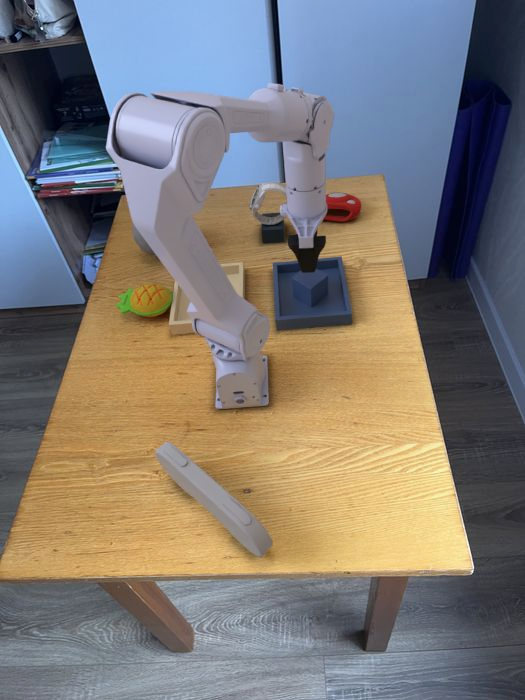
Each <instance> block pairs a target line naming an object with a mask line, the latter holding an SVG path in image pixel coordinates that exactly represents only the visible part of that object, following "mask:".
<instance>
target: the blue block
mask: <svg viewBox="0 0 525 700" xmlns="http://www.w3.org/2000/svg"><path fill="white" fill-rule="evenodd" d="M292 289H293V297H295V298H297V299H298V300H300V301H302V302H303V303H305V304H307V305H308V306H310V307H313V306H314V305H315V304H316V303H318V302H319V301H320V300H321V299H323V298H324V297H325V296H326V295H327V294H328V275H327V274H325V273H323V272H322V271H320V270H318V269H316V270H315V272H312V273H302V271H300V272H298V273H297V274H296V275H295V276H293V277H292Z"/></svg>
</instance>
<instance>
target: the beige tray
mask: <svg viewBox="0 0 525 700" xmlns="http://www.w3.org/2000/svg"><path fill="white" fill-rule="evenodd" d="M220 265H221V267H222V269H223V270H224V272H225V274H226V276H227V277H228V279H229V281H230V283H231V284H232V286H233V288H234V290H235V291H236V293H237V294H238V295H239V296H241V297H242V298H244V299H245V300H246V269H245V263H244V261H239V262H238V261H237V262H227V263H226V262H225V263H220ZM172 295H173V298H172V302H171V305H170V312H169V320H168V327H169V330H170V332H171V335H173V336H174V335H186V334H196V333H195V332H194V330H193V328H192V321H191V317H190V315H189V314H188V313H187V309H188V307H189V305H190V302H191V301H190V300H189V299H188V297H187V296H186V295H185V293H184V292H183V291H182V289H181V288H180V287H179V285H178V284H177V282H176V281H175V280H174V283H173V291H172Z"/></svg>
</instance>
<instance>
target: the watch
mask: <svg viewBox="0 0 525 700" xmlns="http://www.w3.org/2000/svg"><path fill="white" fill-rule="evenodd" d="M269 191H270V192H272V191H273V192H274V191H275V192H278V193H281V194H283V195H284V196H285V197H286V198H287V194H286V186H285V185H283V184H281V183H279V182H274V181H270V182H269V181H268V182H263V183H262V184H258V185H257V186H256V187H255V189H254V192H253V194H252V195H251V200H250V203H249V211H251V216H252V217H253V218H254V220H256V222H258V223H260V224H261V227H260V232H261V240H262V244H272V243H273V244H275V243H276V244H277V243H285V238H286V237H285V234H286V233H285V231H286V230H285V228H286V227H285V220H286V218H287V216H282V215H280V211H279V212H265V213H259V212H258V211H259V210H260V209H261V207H262V205H263V203H264V200H265V198H266V194H267V192H269ZM285 204H287V200H286V202H285Z"/></svg>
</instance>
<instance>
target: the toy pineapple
mask: <svg viewBox="0 0 525 700" xmlns="http://www.w3.org/2000/svg"><path fill="white" fill-rule="evenodd" d="M118 297H119V299H120V300H121V301H120V302H118V303H116V304H115V307H116V308H117V309H120V313H121V314H122V315H125V314H127V313H130V312H132V313H134V314H136V315H139V316H142V317H146V318H147V317H148V318H153V317H157V316H161V315H163V314H164V313H165V312H166V311H168V310H169V308H170V307H171V305H172V298H173V292H172V291H171V290H170V289H169V288H168V287H165V286H163V285H161V284H158V283H146V284H143V285H140V286H138V287H137V288H135V289H132V288H128V289H127V290H126V292H124V293H121V294H120V295H119V296H118Z"/></svg>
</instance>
